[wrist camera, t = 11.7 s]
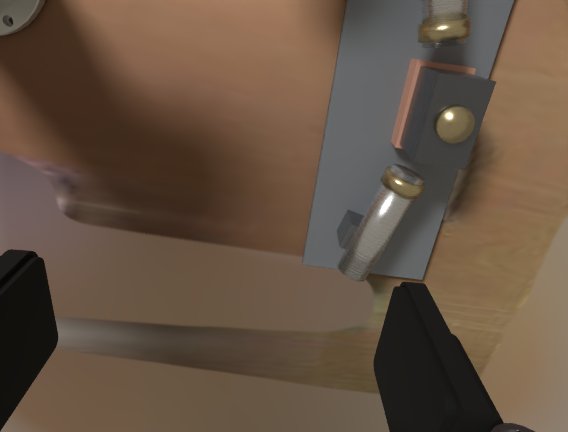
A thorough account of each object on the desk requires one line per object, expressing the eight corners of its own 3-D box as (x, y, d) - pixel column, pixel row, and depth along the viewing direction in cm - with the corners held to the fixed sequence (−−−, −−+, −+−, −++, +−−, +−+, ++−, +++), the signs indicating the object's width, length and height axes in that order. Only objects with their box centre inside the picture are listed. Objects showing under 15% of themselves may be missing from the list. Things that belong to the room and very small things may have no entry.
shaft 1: (377, 146, 39) (391, 170, 33) (414, 162, 39) (435, 188, 33) (329, 238, 43) (334, 274, 37) (363, 251, 44) (373, 288, 38)
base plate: (302, 259, 45) (302, 275, 42) (375, -170, 29) (383, -190, 26) (419, 274, 45) (427, 291, 42) (554, -143, 29) (580, -159, 27)
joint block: (399, 143, 36) (415, 164, 31) (420, 65, 33) (442, 73, 28) (444, 150, 36) (467, 172, 31) (469, 73, 33) (500, 82, 28)
